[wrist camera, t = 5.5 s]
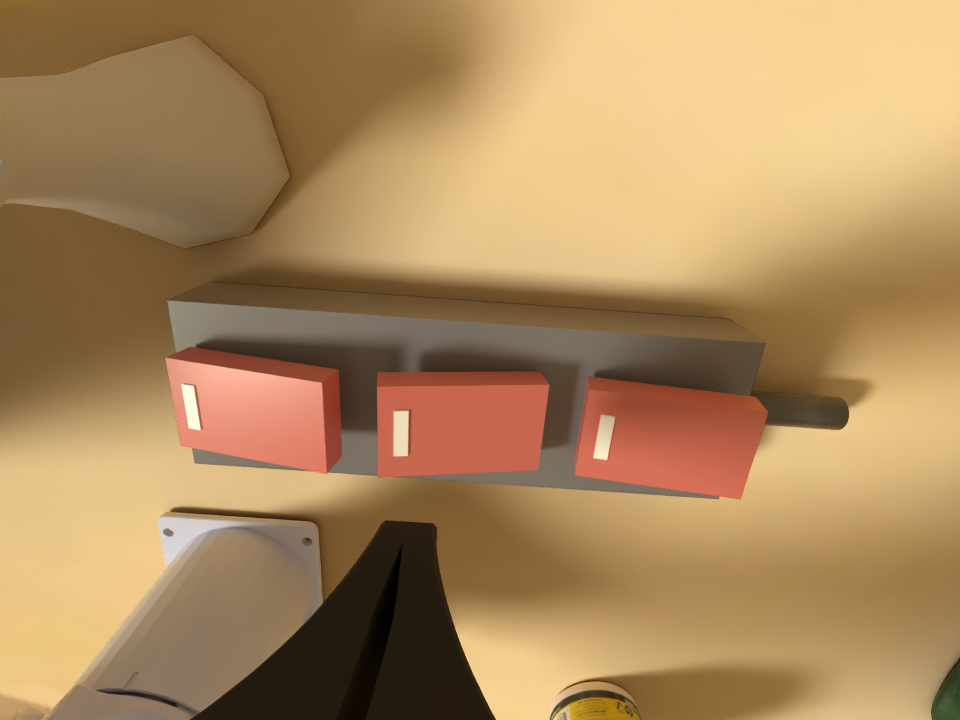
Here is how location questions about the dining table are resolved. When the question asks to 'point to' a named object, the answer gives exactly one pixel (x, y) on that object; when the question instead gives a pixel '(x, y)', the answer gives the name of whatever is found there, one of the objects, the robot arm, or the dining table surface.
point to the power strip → (481, 361)
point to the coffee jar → (948, 698)
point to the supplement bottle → (594, 703)
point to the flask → (144, 144)
